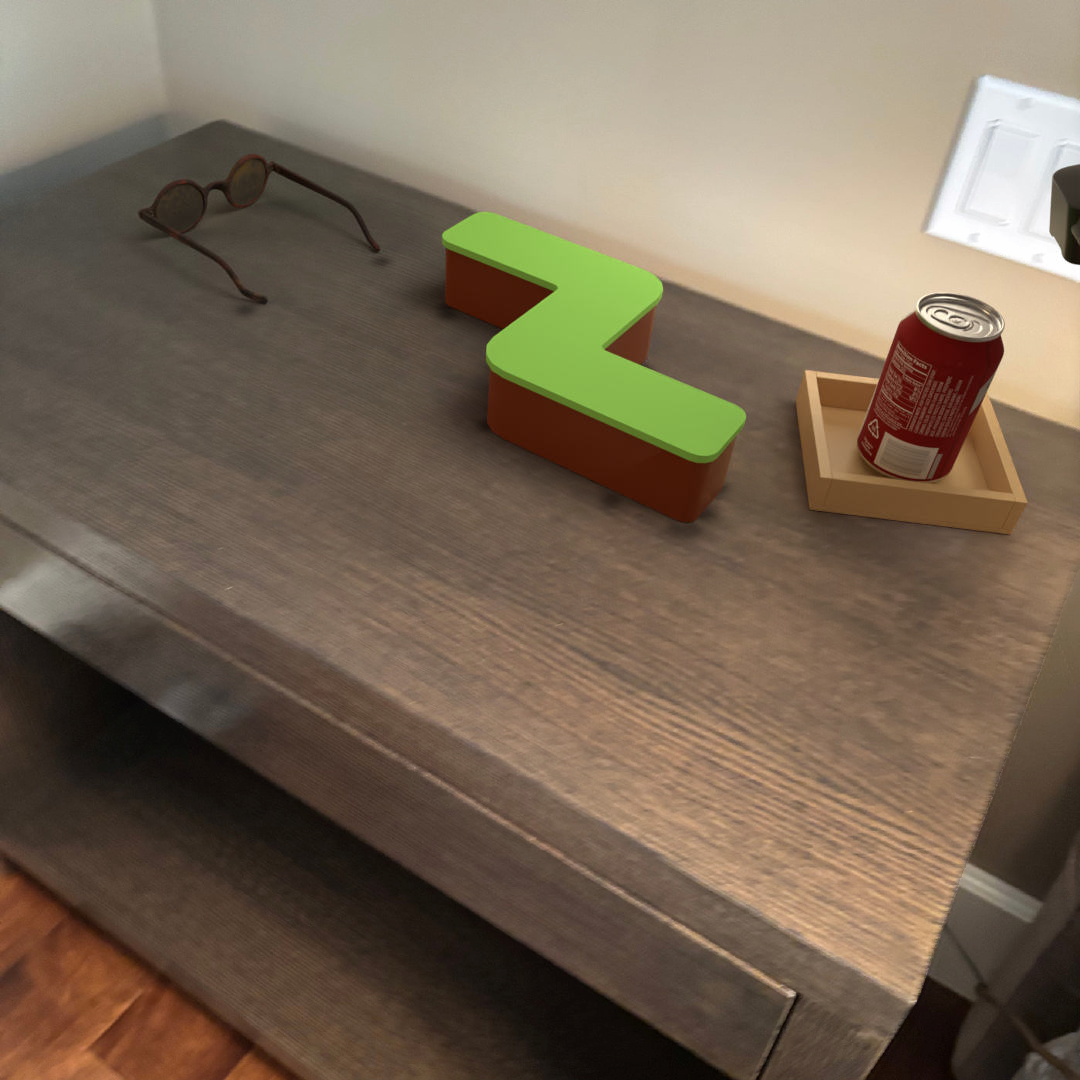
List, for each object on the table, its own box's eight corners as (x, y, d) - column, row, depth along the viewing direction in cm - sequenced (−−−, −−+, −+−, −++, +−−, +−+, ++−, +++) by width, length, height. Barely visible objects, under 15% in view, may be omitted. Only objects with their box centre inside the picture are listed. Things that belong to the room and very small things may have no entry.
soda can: (927, 504, 70) (994, 356, 62) (838, 462, 73) (890, 315, 64) (963, 458, 74) (1029, 313, 66) (876, 419, 77) (930, 276, 68)
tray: (973, 422, 78) (987, 391, 76) (1010, 534, 69) (1028, 502, 67) (795, 401, 78) (804, 369, 76) (809, 509, 69) (820, 477, 67)
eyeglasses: (276, 193, 97) (270, 140, 94) (388, 248, 91) (386, 195, 87) (144, 245, 88) (132, 189, 85) (258, 310, 82) (250, 253, 79)
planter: (340, 365, 77) (335, 296, 73) (480, 272, 89) (482, 208, 85) (692, 530, 67) (709, 461, 63) (799, 401, 78) (819, 335, 74)
